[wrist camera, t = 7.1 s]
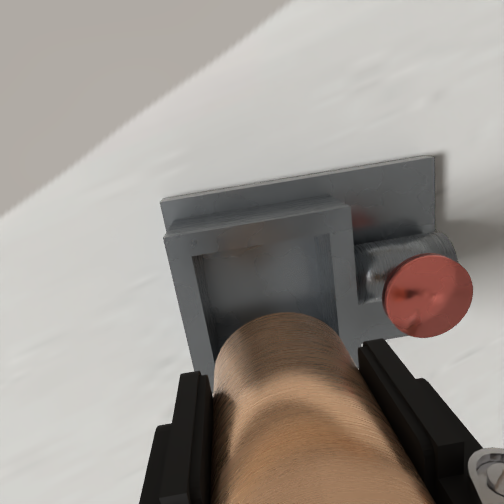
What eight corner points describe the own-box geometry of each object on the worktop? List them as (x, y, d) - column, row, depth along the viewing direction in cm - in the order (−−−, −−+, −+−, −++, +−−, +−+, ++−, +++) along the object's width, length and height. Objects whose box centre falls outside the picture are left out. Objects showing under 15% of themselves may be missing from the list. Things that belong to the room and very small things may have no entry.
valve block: (422, 155, 20) (507, 164, 14) (425, 321, 23) (496, 387, 17) (163, 198, 20) (136, 226, 14) (200, 359, 23) (190, 441, 17)
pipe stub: (343, 301, 12) (571, 617, 4) (353, 416, 13) (538, 815, 5) (201, 325, 12) (163, 698, 4) (226, 439, 13) (234, 879, 5)
